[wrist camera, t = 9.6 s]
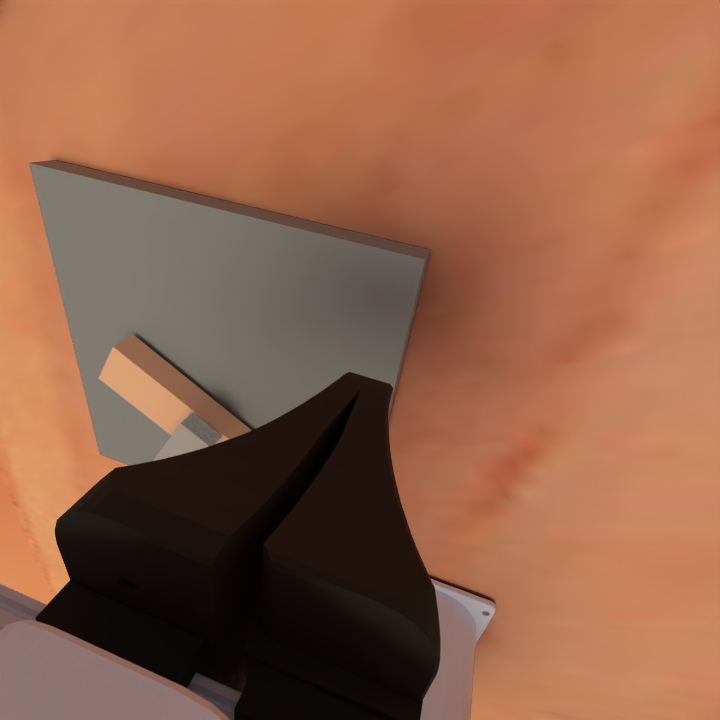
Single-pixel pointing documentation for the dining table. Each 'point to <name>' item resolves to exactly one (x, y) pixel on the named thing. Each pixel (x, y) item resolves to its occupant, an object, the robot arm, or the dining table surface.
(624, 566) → the dining table surface
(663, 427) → the dining table surface
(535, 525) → the dining table surface
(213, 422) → the link
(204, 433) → the keeper
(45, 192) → the board
